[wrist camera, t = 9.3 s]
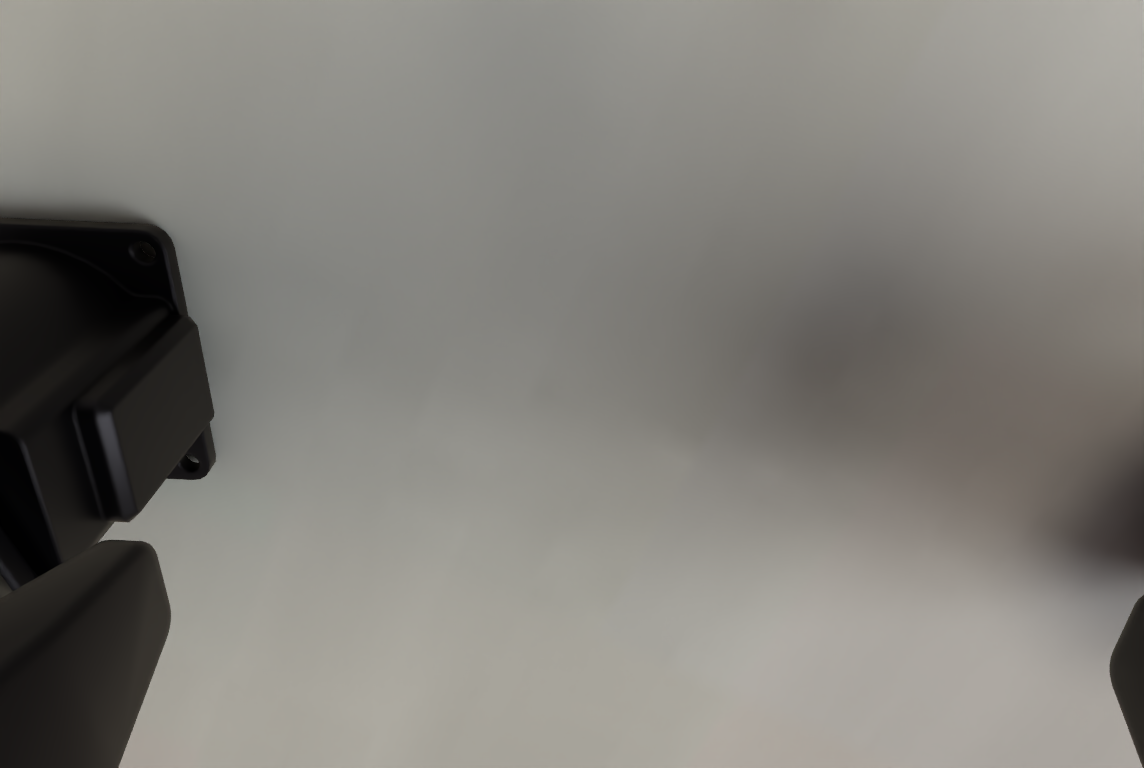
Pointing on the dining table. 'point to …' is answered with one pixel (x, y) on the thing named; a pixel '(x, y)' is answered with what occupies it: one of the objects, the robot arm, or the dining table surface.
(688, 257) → the dining table surface
